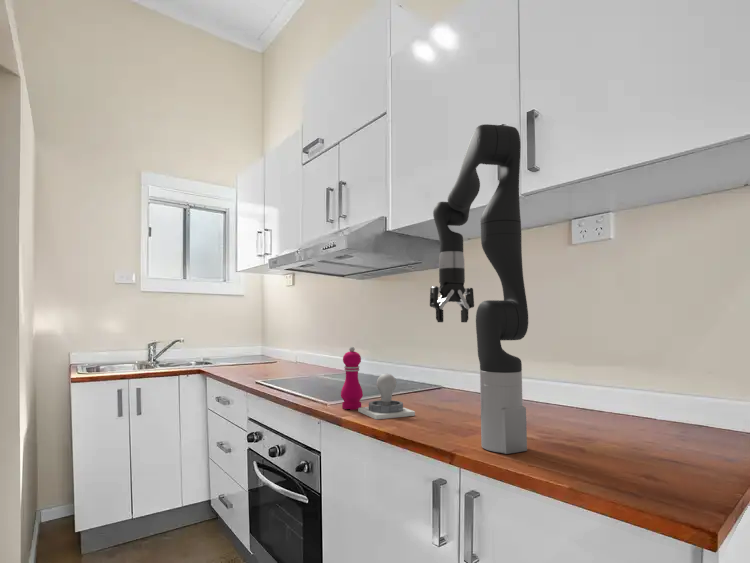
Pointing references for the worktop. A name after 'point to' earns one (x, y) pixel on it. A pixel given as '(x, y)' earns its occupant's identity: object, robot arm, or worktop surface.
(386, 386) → the lightbulb
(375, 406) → the socket collar
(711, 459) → the worktop surface
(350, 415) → the worktop surface
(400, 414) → the socket board
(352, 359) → the pepper mill
